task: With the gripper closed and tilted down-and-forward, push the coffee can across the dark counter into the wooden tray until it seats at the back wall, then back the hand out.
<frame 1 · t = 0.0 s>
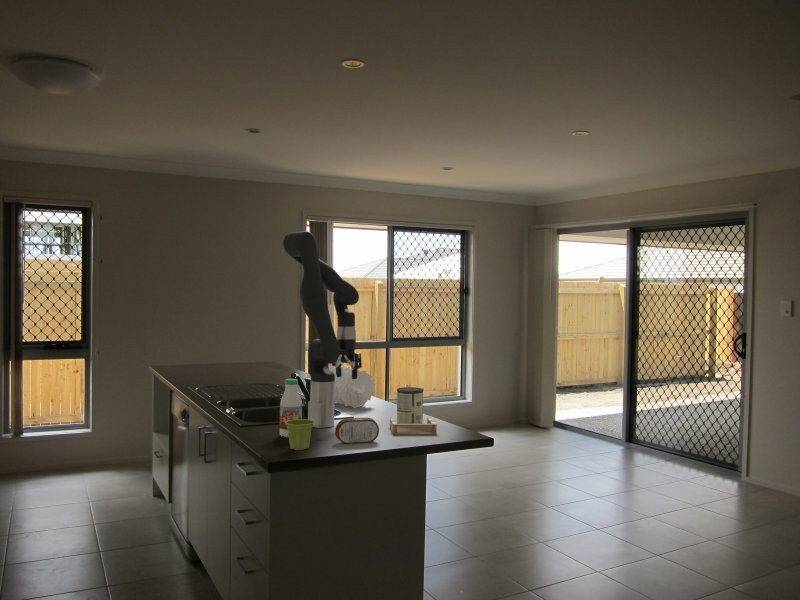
hand: (346, 378, 259), 17 cm above the countertop, tool pointing down, fingers open, 8 cm apart
coffee can: (409, 425, 254), on the countertop
wooden tray: (412, 430, 243), on the countertop
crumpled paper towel: (345, 405, 298), on the countertop
tin: (357, 443, 221), on the countertop
plant pot: (299, 449, 211), on the countertop
milk bottle: (290, 436, 231), on the countertop
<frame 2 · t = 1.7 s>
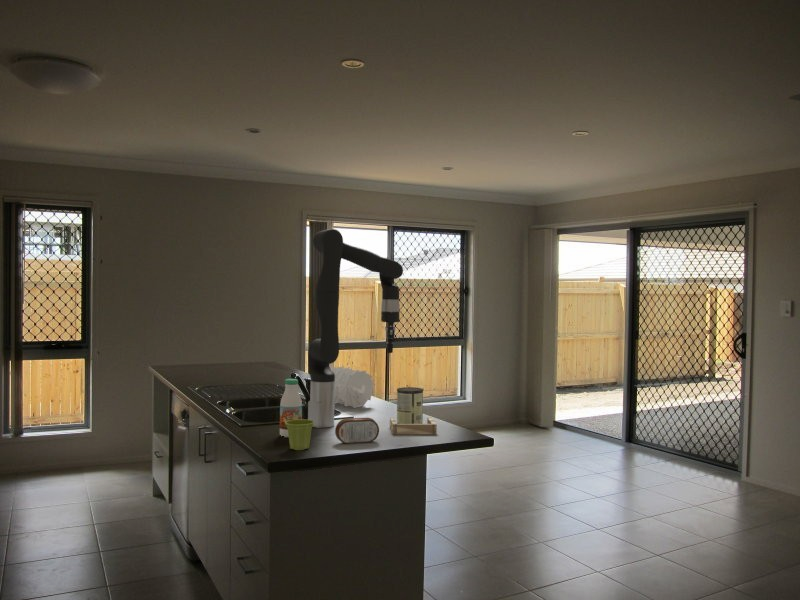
hand: (389, 352, 267), 27 cm above the countertop, tool pointing down, fingers closed
nothing on the countertop moved.
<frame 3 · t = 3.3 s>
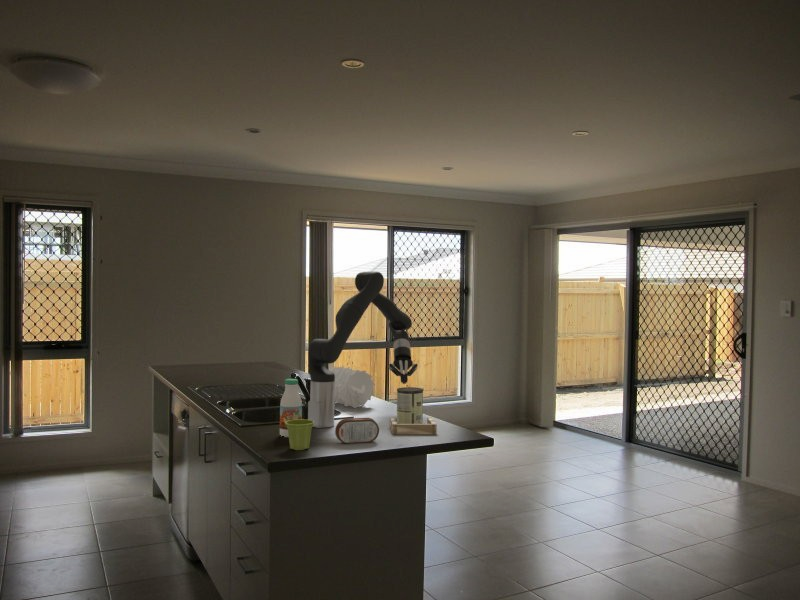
hand: (404, 382, 275), 14 cm above the countertop, tool tilted 45°, fingers closed
nothing on the countertop moved.
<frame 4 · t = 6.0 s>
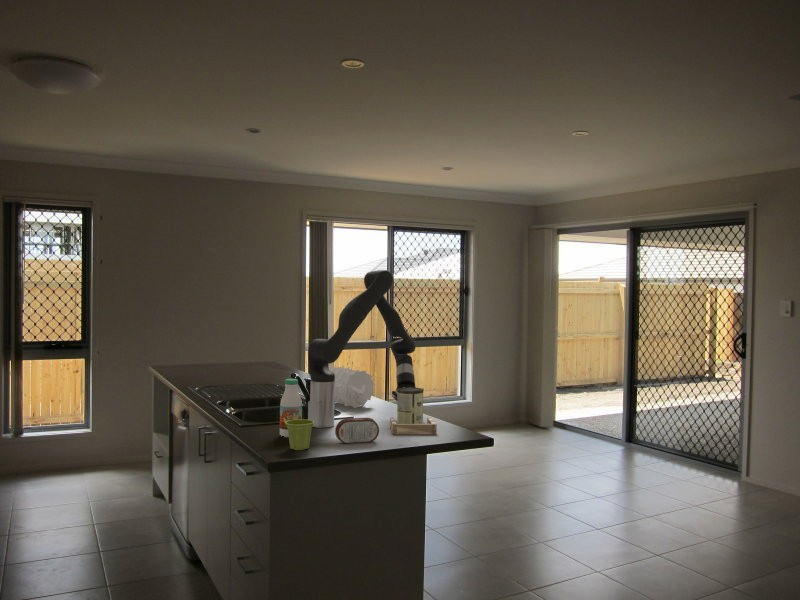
hand: (408, 411, 259), 4 cm above the countertop, tool tilted 45°, fingers closed
coffee can: (409, 425, 253), on the countertop, touching gripper
everything else where it was.
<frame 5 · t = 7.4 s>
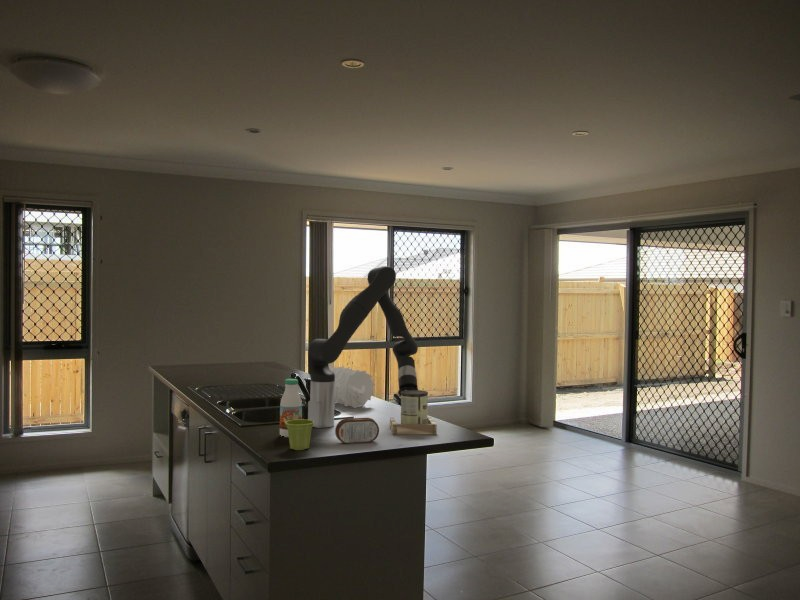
hand: (410, 415, 251), 4 cm above the countertop, tool tilted 45°, fingers closed
coffee can: (413, 429, 246), on the countertop, touching gripper
everything else where it was.
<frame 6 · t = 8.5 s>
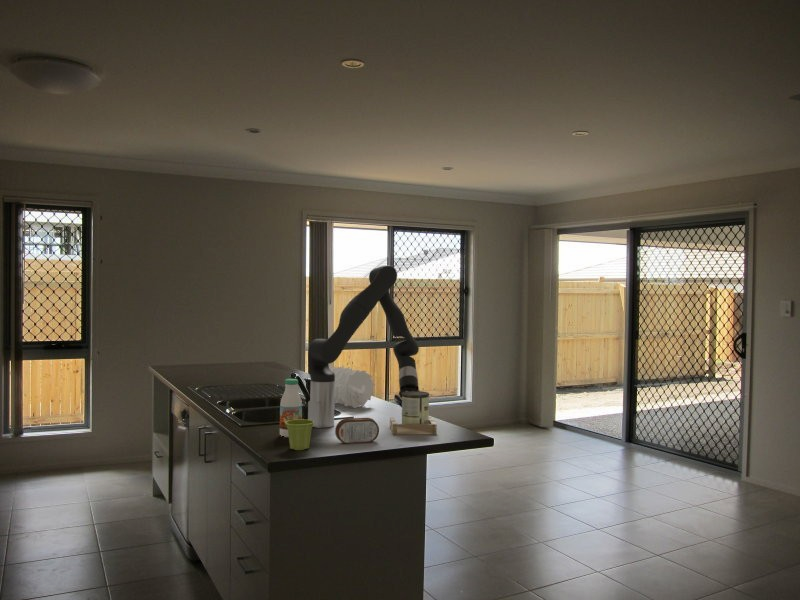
hand: (411, 416, 248), 4 cm above the countertop, tool tilted 45°, fingers closed
coffee can: (414, 431, 243), on the countertop, touching gripper
everything else where it was.
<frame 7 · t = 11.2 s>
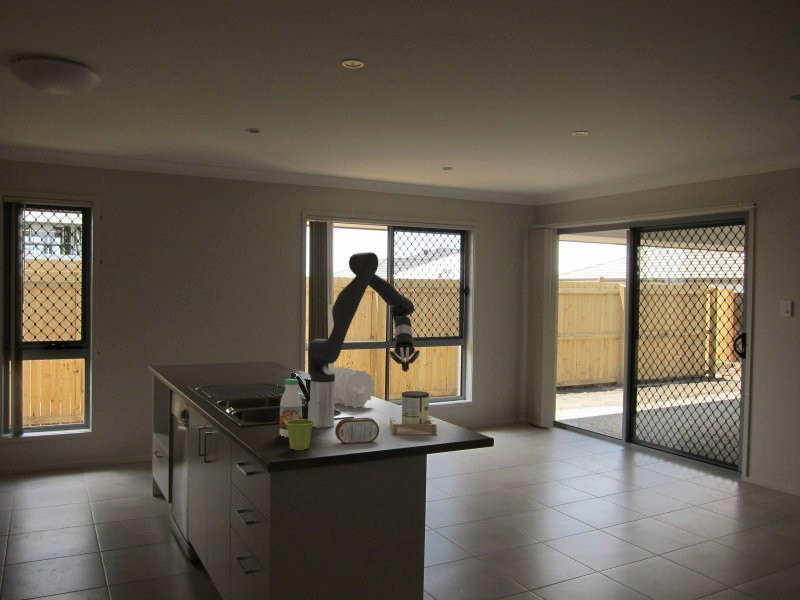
hand: (405, 370, 264), 20 cm above the countertop, tool tilted 45°, fingers closed
coffee can: (414, 431, 243), on the countertop
everything else where it was.
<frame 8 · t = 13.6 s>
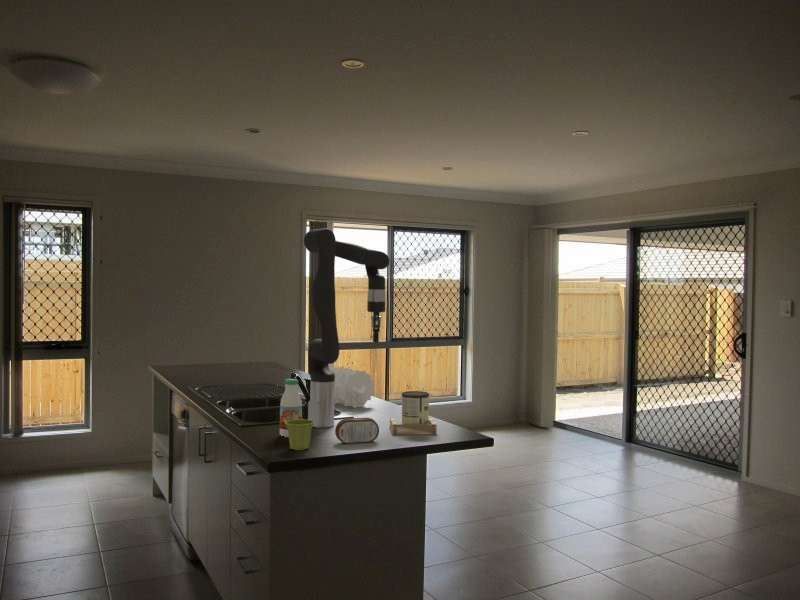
hand: (375, 342, 269), 31 cm above the countertop, tool pointing down, fingers closed
nothing on the countertop moved.
at the end: coffee can 0.9 cm from the wooden tray (horizontally); coffee can tilted 0°; coffee can touching countertop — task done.
